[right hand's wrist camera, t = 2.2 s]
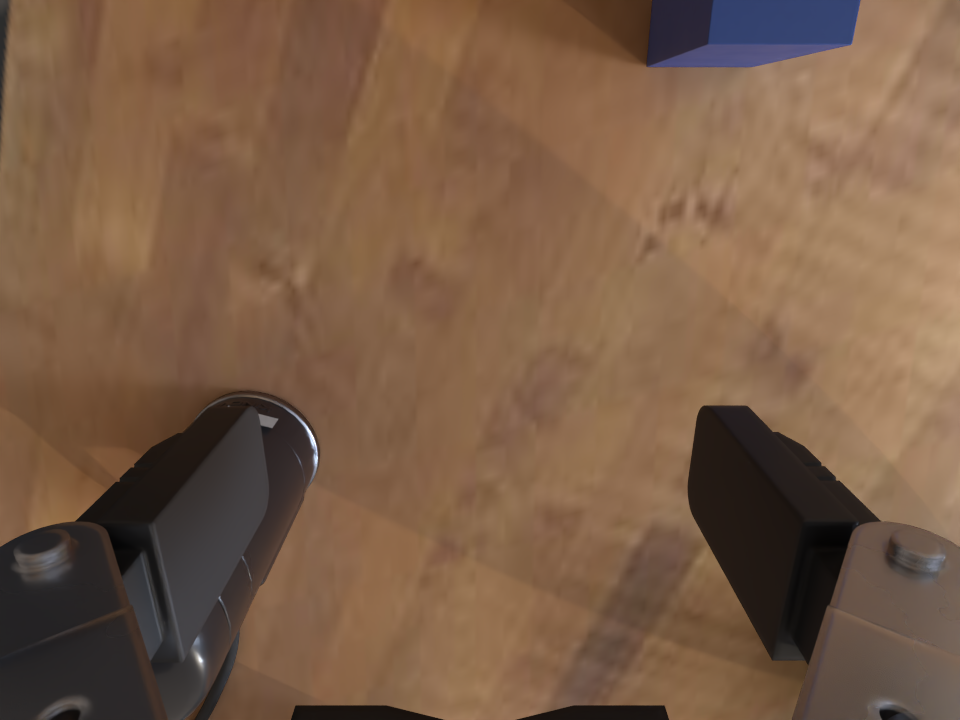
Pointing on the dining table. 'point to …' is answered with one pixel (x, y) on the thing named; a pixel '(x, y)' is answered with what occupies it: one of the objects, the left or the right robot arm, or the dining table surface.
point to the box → (746, 31)
